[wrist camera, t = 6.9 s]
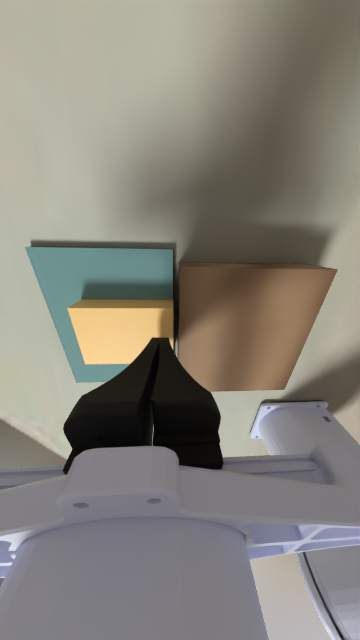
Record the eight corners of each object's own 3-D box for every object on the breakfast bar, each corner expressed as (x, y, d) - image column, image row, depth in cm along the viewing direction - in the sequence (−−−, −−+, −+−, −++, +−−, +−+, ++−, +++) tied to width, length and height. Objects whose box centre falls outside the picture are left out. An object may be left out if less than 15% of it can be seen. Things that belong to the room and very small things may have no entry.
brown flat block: (305, 264, 14) (337, 269, 11) (268, 368, 19) (284, 389, 16) (178, 262, 13) (180, 267, 11) (177, 370, 19) (178, 392, 16)
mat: (172, 249, 13) (172, 249, 12) (173, 376, 19) (173, 380, 18) (30, 246, 12) (24, 246, 12) (78, 379, 18) (76, 382, 18)
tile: (173, 299, 14) (173, 308, 12) (173, 349, 17) (173, 362, 15) (81, 299, 14) (67, 308, 12) (94, 350, 16) (85, 364, 14)
